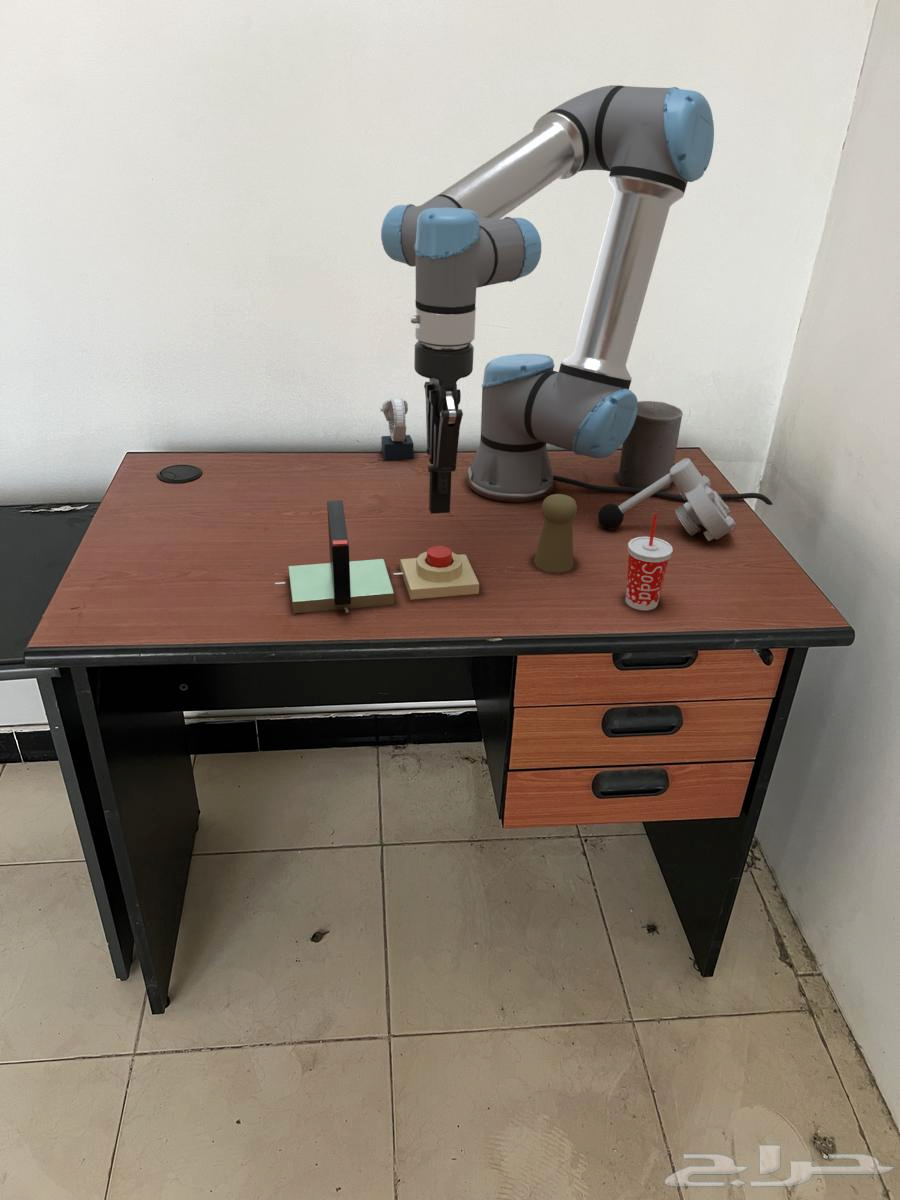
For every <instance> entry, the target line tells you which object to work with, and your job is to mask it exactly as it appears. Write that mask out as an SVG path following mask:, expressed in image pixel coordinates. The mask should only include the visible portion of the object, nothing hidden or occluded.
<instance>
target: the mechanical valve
mask: <svg viewBox="0 0 900 1200" xmlns="http://www.w3.org/2000/svg"><path fill="white" fill-rule="evenodd" d="M672 483H673V485H675V487H676V488H677V490H678V491H679V495H681V496H682V498H683V499H684V500H686V499H687V500H688V501H685V503H683V504H682V505H680V506H678V507H677V508H676V507H675V508H676V509H675V510H674V512H675V514H676V516H677V518H678V521H679V522H680V523H681V525H682V526H683V528H684V530H685V531H686V532H687V533H688V534H689V535H690V536H691V537H693V536H695V535H696V534H698V533H700V532H702V528H701V526H702V527H703V528H704V529H705V531H703V535H704V537H705V539H706V540H707V542H710V541H712V540H716V541H717V540H719V539H721V538H722V537H724V536H725V535H727V534H729V533H730V532H732V531H733V530H734V528H735V527H736V522H735V520H734V519H733V517H731V515H728V514H730V513H731V511H730V508H729V506H728V505H727V504H726V503H725V502H724V499H721V497H720V496H719V494H720V493H718V491H716V490H714V489H713V488H711V487H710V486H712V484H711V481H710V479H709V477H708V476H706V475H705V474H703V475H702V474H701V473H700V472H699V470H698V468H697V467H696V466H695V464H694V463H693V461H692V460H691V459H690V458H689V457H688V458H687V457H685V458H682V459H681V460H680V461H678V462H676V463H674V466H673V467H672V468H671V469H670V473H669V474H667V475H666V476H664V477H662V478H661V479H659V480H658V481H656V482H655V483H653V484H652V485H650V486H649V487H647V488H646V489H644V490H642V491H641V492H639V493H635V495H633V496H632V497H629V498H628V499H627V500H626V501H624V502H623V503H621V504H620V505H618V504H615V503H607V504H604V505H603V506H602V507H600V509H599V510H598V513H597V520H598V522H599V524H600V525H601V526H602V527H603V528H605V529H607V530H615V529H616V528H618V527H620V526H621V525H622V524H623V521H624V516H625V515H624V514H625V513H626V512H628V511H630V510H631V509H633V508H634V507H636V506H637V505H639V504H640V503H642V502H644V501H645V500H647V499H648V498H650V497H651V496H653V494H654V493H656V492H657V491H659V490H660V489H662V488H664V487H665V486H667V485H668V484H670V485H671V484H672ZM700 525H701V526H700Z"/></svg>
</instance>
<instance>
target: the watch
mask: <svg viewBox="0 0 900 1200" xmlns="http://www.w3.org/2000/svg"><path fill="white" fill-rule="evenodd" d="M408 405H409V404H408V402H407V400H406V399H405V398H403V397H398V396H397V397H391V398H388V399H386V400H385V401H384V402H383V403H382V405H381V407H380V408H379V410H380V412H383V415H384V418H385V421H386V422H388V429H389V430H388V431H389V435H382V436H381V437H380V438H381V439H380V440H381V441H380V442H381V443H380V444H381V454H382V457H383V459H384V461H392V460H412V459H414V441H413V439H412V437H411V435H410V434H407V425H406V421H407V420H406V415H407V413H408V411H409V406H408Z"/></svg>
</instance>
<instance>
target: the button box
mask: <svg viewBox="0 0 900 1200" xmlns="http://www.w3.org/2000/svg"><path fill="white" fill-rule="evenodd" d="M399 561H400V563H399V564H400V568H399V569H400V573H403V575H402V578H403V581H404V584H405V586H406V590H407V593H408V596H409V599H410V600H421V599H433V598H443V597H446V598H447V597H456V596H466V595H478V594H480V582H479V580H478V578H477V576H476V574H475V572H474V569H473V567H472V565H471V562H470V561H469V559H468V557H467V554H466V553H463V554H456V553H455V552H453V551H452V563H451V565H450V566H448V567H442V568H437V567H431V566H429V565H428V564H427V551H424V552H421V553H419V555H418V556H417V557H412V558H400V560H399Z"/></svg>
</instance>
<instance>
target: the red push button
mask: <svg viewBox="0 0 900 1200" xmlns="http://www.w3.org/2000/svg"><path fill="white" fill-rule="evenodd" d="M426 552H427V564H428V565H429V566H431V567H437V568H442V567H448V566H450V565H451V563H452V552H453V551H452V549H451V548H450V547H447V546H444V545H435V546H431V547H429V548H428V549H427V550H426Z"/></svg>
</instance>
